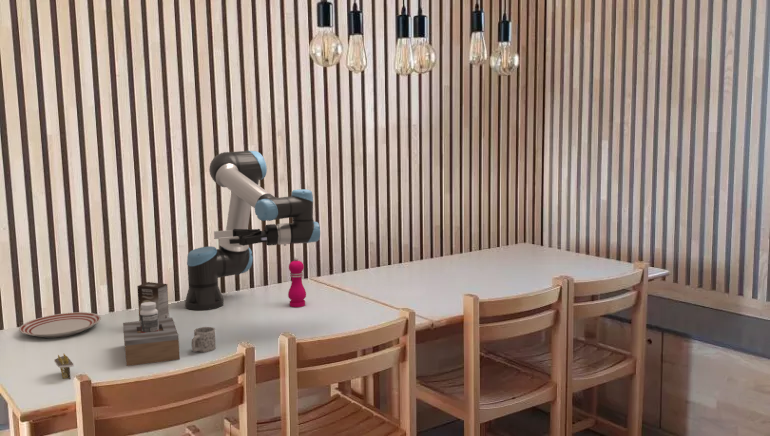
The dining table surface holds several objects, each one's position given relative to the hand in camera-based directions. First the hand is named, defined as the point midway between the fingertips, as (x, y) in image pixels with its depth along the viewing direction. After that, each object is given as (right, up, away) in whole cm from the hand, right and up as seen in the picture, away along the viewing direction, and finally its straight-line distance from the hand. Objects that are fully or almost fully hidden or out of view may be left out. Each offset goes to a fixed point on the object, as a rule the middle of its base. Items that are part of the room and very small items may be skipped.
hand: (216, 238), depth 261 cm
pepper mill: (+23, -28, +41) cm, 55 cm away
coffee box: (-26, -33, +14) cm, 44 cm away
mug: (-1, -37, -14) cm, 40 cm away
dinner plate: (-59, -34, +12) cm, 69 cm away
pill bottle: (-18, -31, -16) cm, 39 cm away
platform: (-37, -41, -36) cm, 66 cm away
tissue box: (-18, -37, -15) cm, 44 cm away
